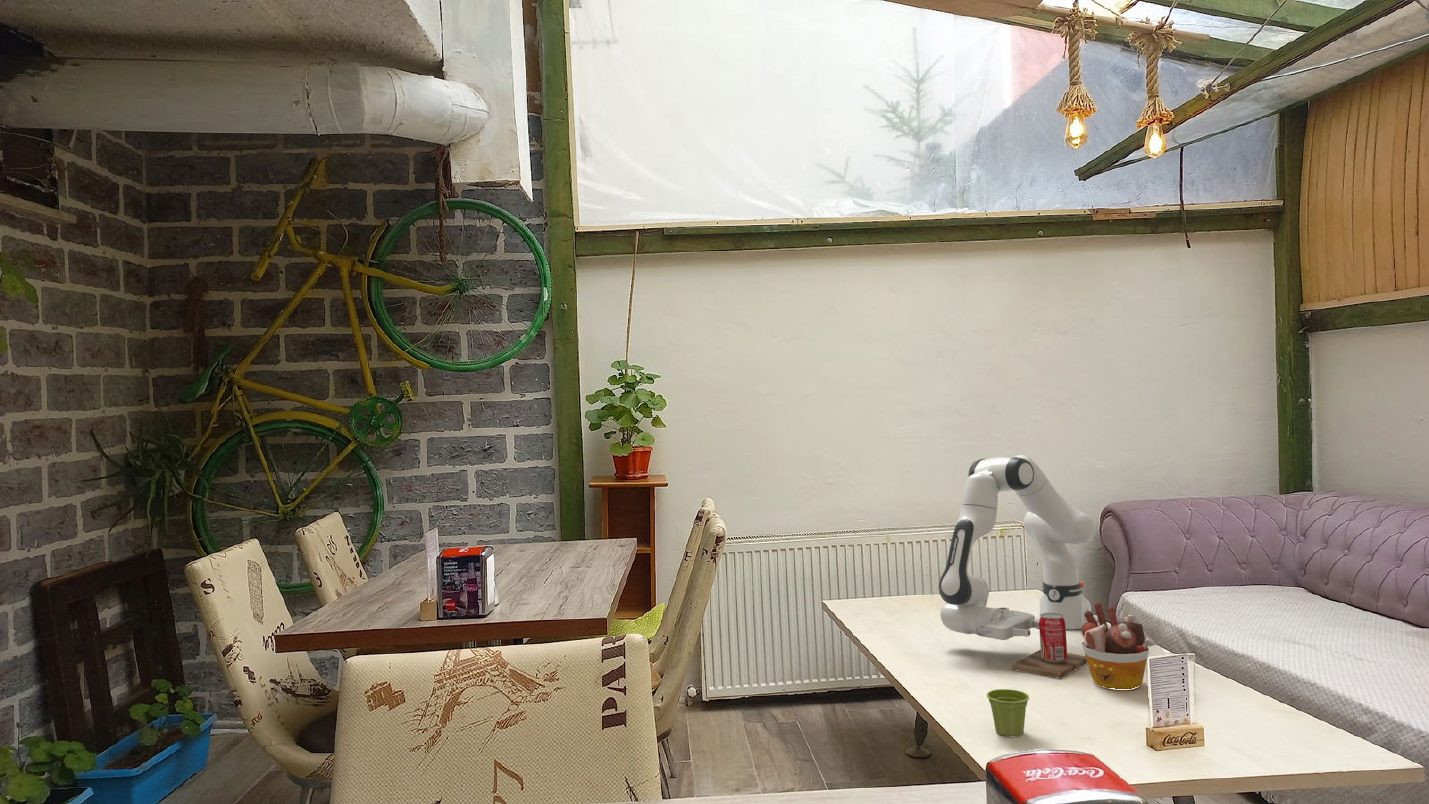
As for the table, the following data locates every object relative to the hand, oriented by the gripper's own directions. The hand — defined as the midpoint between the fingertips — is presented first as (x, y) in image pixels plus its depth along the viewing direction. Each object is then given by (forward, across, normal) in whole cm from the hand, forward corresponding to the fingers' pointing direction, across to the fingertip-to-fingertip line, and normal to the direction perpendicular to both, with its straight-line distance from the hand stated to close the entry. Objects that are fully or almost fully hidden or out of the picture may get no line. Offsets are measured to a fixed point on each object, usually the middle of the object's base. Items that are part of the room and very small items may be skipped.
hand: (1036, 629), depth 250 cm
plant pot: (+18, -54, +10) cm, 58 cm away
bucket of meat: (+24, -5, +10) cm, 26 cm away
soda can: (+5, +1, +8) cm, 10 cm away
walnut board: (+4, 0, +10) cm, 11 cm away
